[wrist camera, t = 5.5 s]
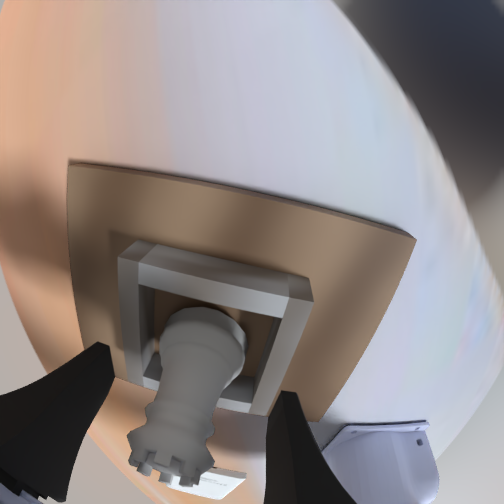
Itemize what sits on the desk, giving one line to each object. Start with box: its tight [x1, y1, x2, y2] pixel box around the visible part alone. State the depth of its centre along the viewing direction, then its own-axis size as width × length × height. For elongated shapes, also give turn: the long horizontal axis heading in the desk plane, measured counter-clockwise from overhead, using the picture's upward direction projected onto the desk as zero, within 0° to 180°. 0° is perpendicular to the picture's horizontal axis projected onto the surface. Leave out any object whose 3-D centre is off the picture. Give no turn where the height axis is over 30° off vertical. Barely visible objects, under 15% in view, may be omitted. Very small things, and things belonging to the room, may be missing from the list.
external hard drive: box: [166, 467, 247, 499], centre depth 25 cm, size 2×8×12 cm
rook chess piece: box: [127, 307, 249, 487], centre depth 10 cm, size 4×4×8 cm
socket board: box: [67, 163, 417, 422], centre depth 13 cm, size 17×14×3 cm
